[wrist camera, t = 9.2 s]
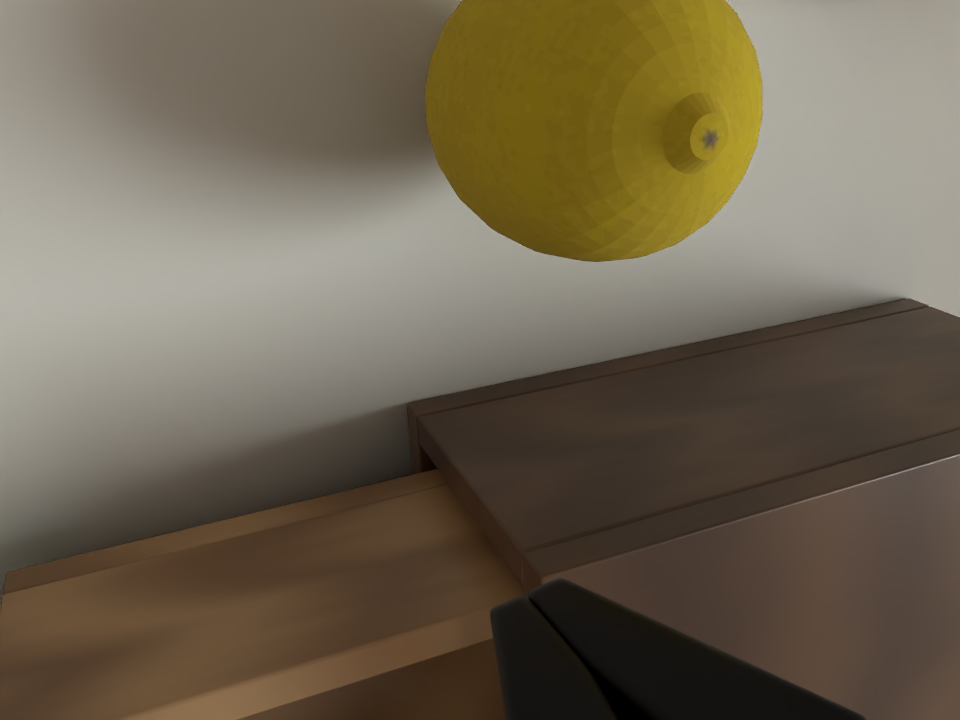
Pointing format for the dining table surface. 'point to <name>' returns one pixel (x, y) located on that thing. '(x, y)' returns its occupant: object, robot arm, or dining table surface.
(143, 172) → the dining table surface
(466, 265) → the dining table surface
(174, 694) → the drawer
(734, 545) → the cabinet
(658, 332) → the dining table surface
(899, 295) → the dining table surface
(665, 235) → the lemon
